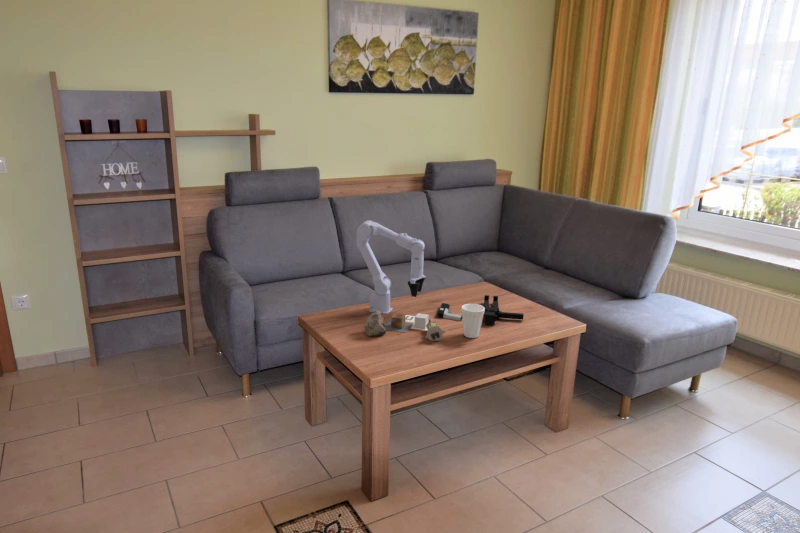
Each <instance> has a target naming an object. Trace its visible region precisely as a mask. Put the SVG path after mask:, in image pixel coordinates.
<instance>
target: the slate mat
mask: <svg viewBox="0 0 800 533" xmlns="http://www.w3.org/2000/svg"><path fill="white" fill-rule="evenodd" d="M412 325H413V323H412V322H405V326H404V327H403V328H402V329H397V328H391V320H388V321H387V323H385V326H386V327H385V328H386V331H390V332H398V333H404V334H406V333H407V332H408V330H409V329H411V327H412Z"/></svg>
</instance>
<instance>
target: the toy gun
mask: <svg viewBox="0 0 800 533" xmlns="http://www.w3.org/2000/svg"><path fill="white" fill-rule="evenodd" d="M449 310H450V304H449V303H444V302H442V303H441V305H440V307H439V310H438V312H437V313H436V318H439V319H448V320H454V321H458V322H459V321H460V322H461V321H463V317H462V315H461V314H460V315H459V314H456V313H454V312H453V311H452V312H451V311H449Z"/></svg>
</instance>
